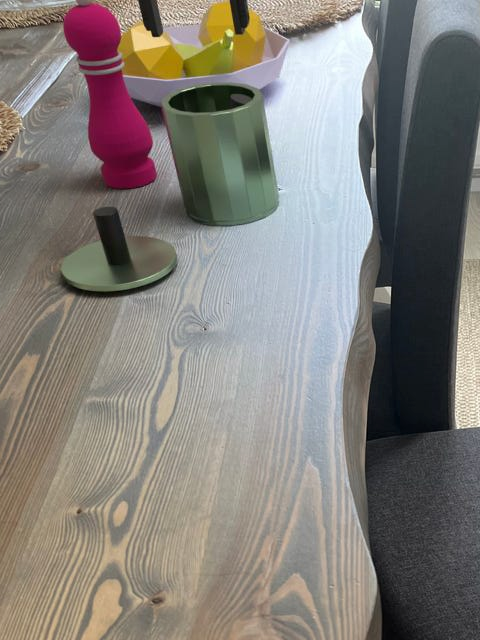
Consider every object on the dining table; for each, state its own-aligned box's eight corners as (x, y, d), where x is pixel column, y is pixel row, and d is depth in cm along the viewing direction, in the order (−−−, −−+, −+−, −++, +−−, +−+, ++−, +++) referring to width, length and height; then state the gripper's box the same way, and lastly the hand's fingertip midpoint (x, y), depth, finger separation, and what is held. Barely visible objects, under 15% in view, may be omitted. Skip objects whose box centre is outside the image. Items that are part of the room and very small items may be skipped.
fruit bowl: (104, 78, 151) (81, -10, 143) (284, 59, 155) (272, -27, 147) (106, 142, 132) (79, 45, 123) (311, 119, 136) (298, 23, 128)
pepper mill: (130, 195, 119) (78, -1, 105) (87, 183, 122) (31, -9, 107) (173, 174, 123) (129, -17, 109) (131, 164, 126) (82, -24, 112)
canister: (177, 226, 112) (151, 116, 104) (196, 189, 120) (172, 83, 111) (272, 224, 112) (253, 113, 104) (284, 187, 119) (268, 81, 111)
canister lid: (50, 298, 101) (28, 237, 96) (82, 248, 109) (64, 189, 104) (165, 296, 100) (149, 234, 96) (188, 245, 109) (175, 187, 104)
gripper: (244, -175, 94) (273, 22, 106) (93, -171, 95) (138, 25, 106) (230, -163, 89) (262, 43, 101) (71, -159, 89) (121, 46, 101)
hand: (199, 34), depth 103 cm, fingers open, 8 cm apart
